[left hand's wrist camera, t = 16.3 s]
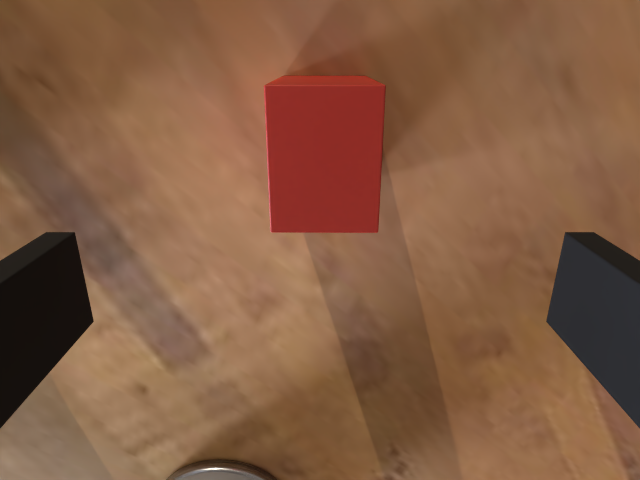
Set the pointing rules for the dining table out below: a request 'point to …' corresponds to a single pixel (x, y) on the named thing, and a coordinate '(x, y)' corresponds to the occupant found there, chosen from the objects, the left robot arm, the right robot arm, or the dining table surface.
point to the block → (324, 153)
